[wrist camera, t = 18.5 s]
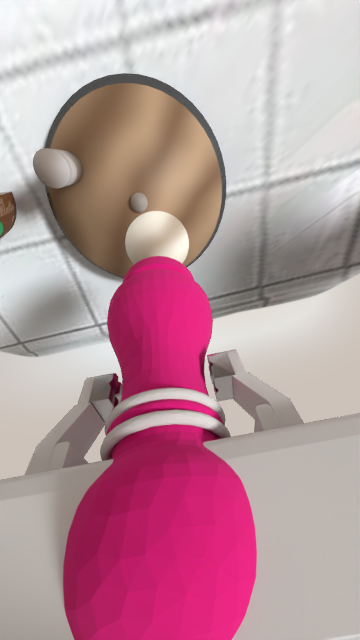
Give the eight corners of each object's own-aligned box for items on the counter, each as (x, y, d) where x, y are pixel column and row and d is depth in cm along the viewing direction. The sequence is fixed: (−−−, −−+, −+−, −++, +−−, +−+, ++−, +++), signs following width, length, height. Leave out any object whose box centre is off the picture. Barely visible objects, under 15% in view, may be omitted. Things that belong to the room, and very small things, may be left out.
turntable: (250, 152, 26) (274, 150, 21) (178, 293, 36) (182, 315, 31) (70, 33, 20) (41, -12, 15) (41, 242, 30) (18, 259, 25)
